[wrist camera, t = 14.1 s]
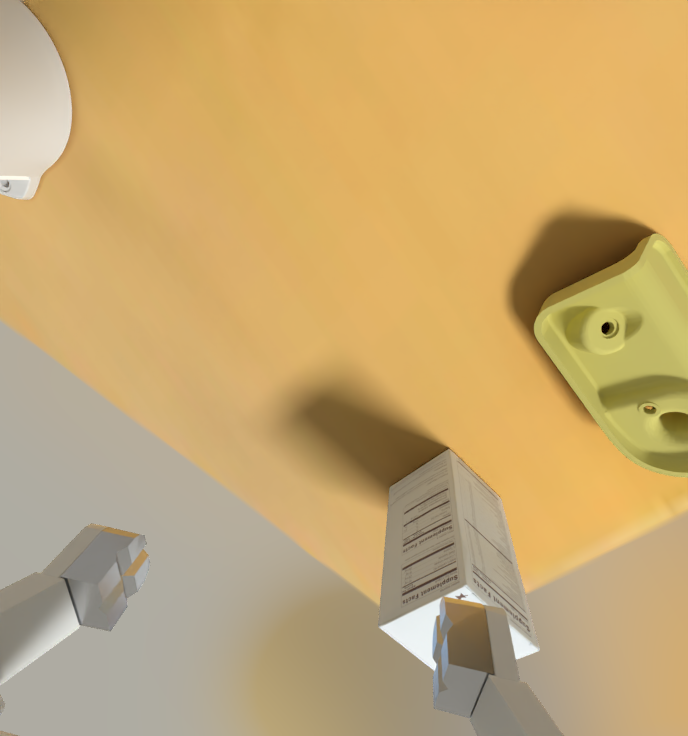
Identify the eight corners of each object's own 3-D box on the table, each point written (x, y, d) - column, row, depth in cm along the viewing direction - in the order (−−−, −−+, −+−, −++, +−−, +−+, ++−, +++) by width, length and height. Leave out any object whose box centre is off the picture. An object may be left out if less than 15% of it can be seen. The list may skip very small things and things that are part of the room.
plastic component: (522, 319, 36) (654, 259, 28) (540, 282, 40) (657, 222, 33) (640, 483, 39) (787, 468, 31) (644, 431, 44) (772, 407, 36)
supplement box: (387, 486, 49) (371, 626, 34) (448, 445, 45) (462, 582, 30) (440, 535, 51) (449, 688, 36) (504, 499, 47) (544, 654, 32)
